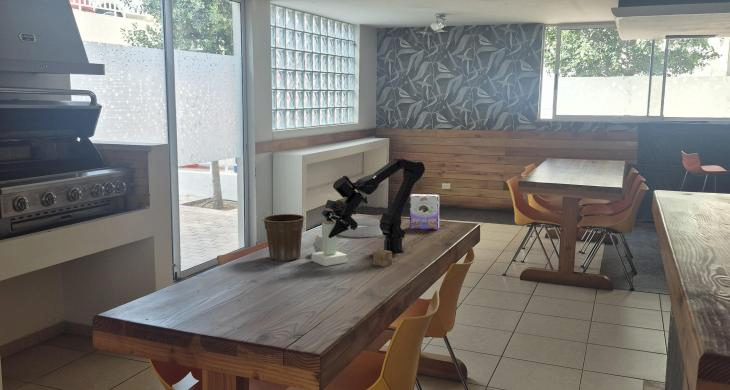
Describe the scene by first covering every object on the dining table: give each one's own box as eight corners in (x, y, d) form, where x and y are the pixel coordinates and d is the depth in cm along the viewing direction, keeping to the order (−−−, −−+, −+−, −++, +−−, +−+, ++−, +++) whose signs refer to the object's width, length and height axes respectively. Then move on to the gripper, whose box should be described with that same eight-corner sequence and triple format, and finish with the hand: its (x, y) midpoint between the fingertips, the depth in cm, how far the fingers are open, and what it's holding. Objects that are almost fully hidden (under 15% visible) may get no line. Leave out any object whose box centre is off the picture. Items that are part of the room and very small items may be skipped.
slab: (333, 257, 257) (333, 249, 257) (347, 262, 249) (347, 254, 249) (311, 260, 252) (311, 253, 251) (324, 266, 244) (324, 258, 243)
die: (325, 259, 256) (338, 238, 258) (307, 248, 257) (320, 227, 259) (326, 262, 264) (339, 241, 266) (308, 251, 265) (321, 231, 267)
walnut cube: (381, 262, 250) (381, 249, 249) (391, 264, 247) (391, 251, 246) (373, 264, 246) (373, 251, 246) (383, 266, 243) (383, 253, 242)
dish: (355, 226, 321) (355, 216, 320) (393, 231, 308) (393, 221, 307) (327, 234, 303) (327, 223, 302) (365, 240, 290) (365, 229, 289)
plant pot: (264, 263, 247) (263, 222, 245) (262, 254, 263) (261, 214, 261) (307, 261, 251) (306, 220, 248) (302, 252, 266) (302, 213, 264)
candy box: (439, 227, 316) (440, 194, 313) (438, 230, 310) (438, 196, 308) (411, 226, 319) (411, 193, 316) (409, 228, 313) (409, 195, 311)
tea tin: (331, 251, 253) (331, 220, 251) (336, 253, 249) (336, 222, 248) (322, 252, 251) (321, 222, 249) (327, 254, 247) (327, 223, 246)
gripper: (325, 189, 256) (301, 219, 252) (350, 195, 241) (325, 227, 237) (342, 206, 262) (319, 237, 258) (368, 213, 246) (343, 245, 242)
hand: (326, 236), depth 248 cm, fingers closed on tea tin, 4 cm apart
